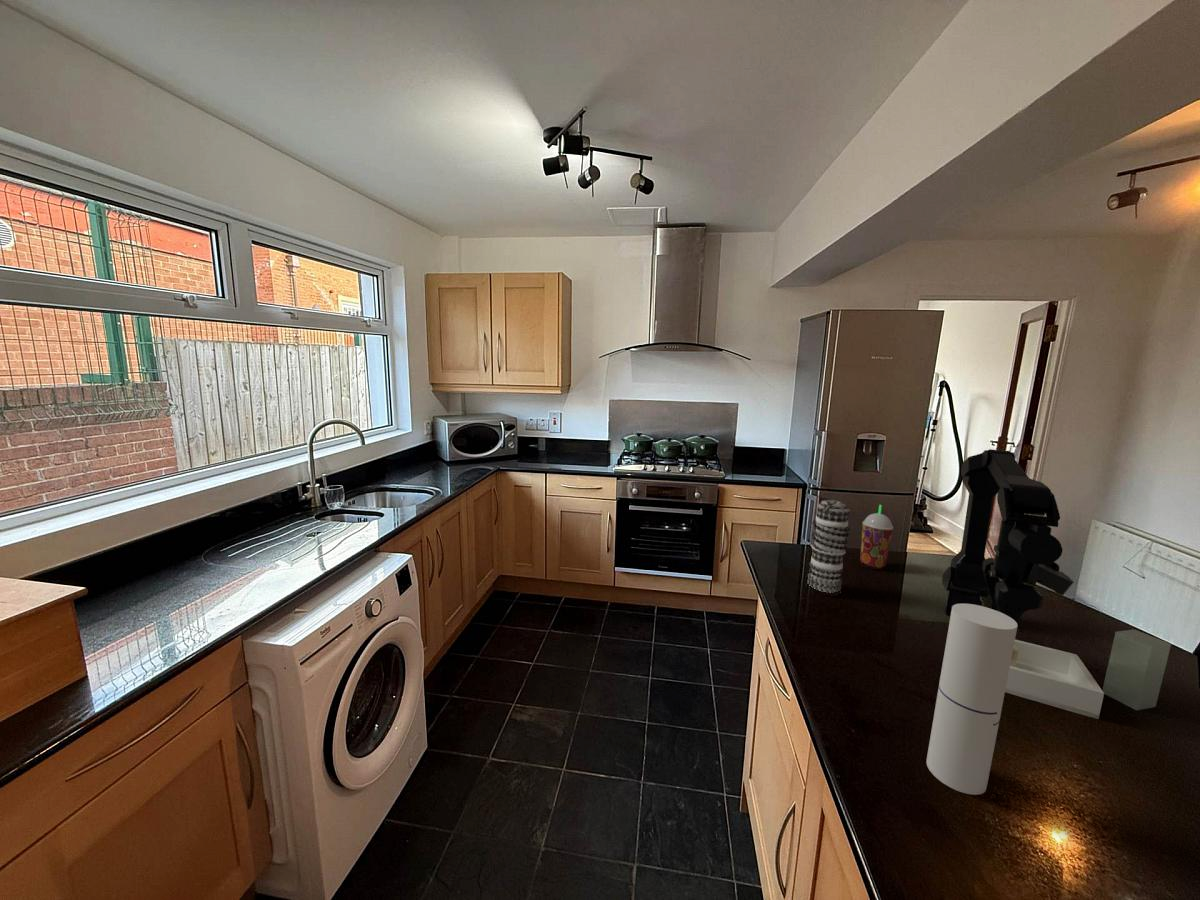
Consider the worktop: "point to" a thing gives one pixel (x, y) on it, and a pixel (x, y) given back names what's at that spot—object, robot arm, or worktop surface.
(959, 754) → the cylindrical container
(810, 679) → the worktop surface
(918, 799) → the worktop surface
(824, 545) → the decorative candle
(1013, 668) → the white tote
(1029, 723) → the worktop surface
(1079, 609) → the worktop surface
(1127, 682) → the sage tin
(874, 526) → the smoothie
